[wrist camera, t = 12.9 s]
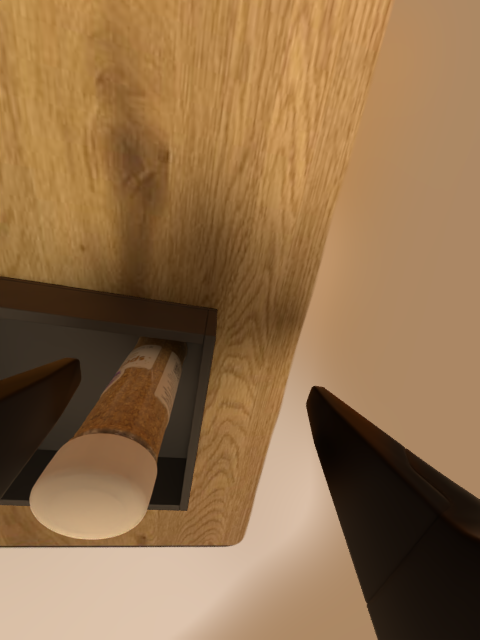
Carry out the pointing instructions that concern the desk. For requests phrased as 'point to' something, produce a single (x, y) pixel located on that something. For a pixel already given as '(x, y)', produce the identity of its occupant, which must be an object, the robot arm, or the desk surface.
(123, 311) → the dark grey tray
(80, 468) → the sprinkles bottle
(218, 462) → the desk surface
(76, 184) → the desk surface
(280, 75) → the desk surface
